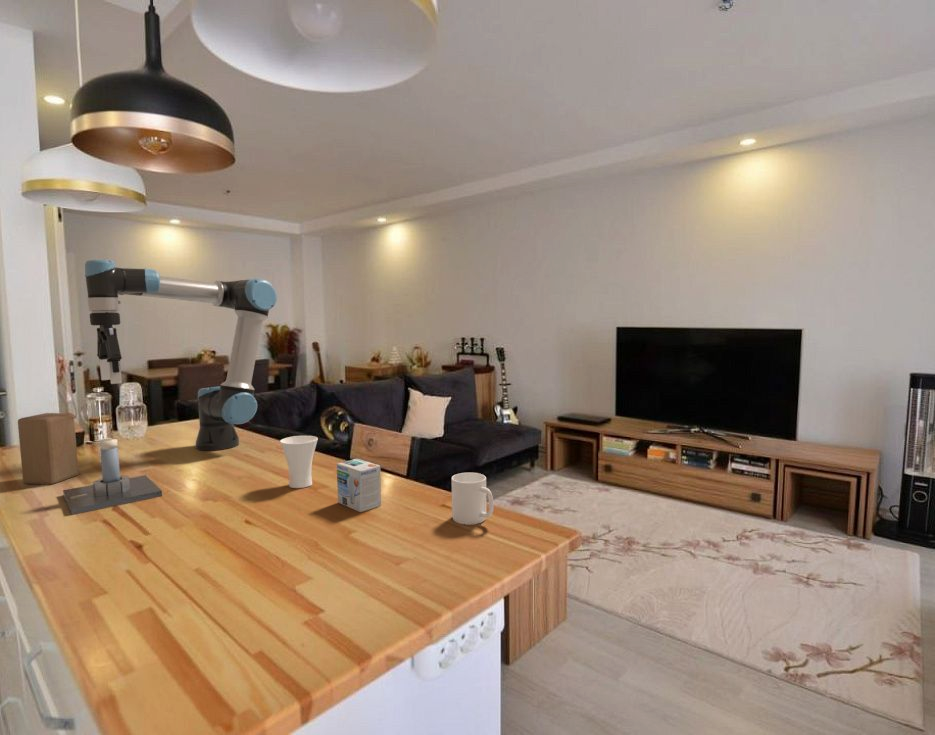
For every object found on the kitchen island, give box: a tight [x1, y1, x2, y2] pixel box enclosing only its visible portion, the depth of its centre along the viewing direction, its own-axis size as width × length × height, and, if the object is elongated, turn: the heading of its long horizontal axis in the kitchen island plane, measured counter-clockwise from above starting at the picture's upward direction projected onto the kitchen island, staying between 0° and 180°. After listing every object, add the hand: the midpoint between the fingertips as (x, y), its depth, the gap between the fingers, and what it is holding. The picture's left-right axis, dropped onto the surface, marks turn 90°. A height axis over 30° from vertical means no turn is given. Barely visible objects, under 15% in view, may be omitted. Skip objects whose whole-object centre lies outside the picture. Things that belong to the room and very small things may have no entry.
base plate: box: [62, 474, 163, 516], centre depth 145 cm, size 20×20×4 cm
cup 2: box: [451, 472, 495, 526], centre depth 124 cm, size 8×12×10 cm
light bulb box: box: [336, 458, 382, 513], centre depth 136 cm, size 11×7×11 cm, turn 47°
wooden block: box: [17, 412, 79, 485], centre depth 159 cm, size 10×10×20 cm
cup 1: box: [279, 435, 319, 489], centre depth 152 cm, size 10×10×14 cm
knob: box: [98, 437, 121, 483], centre depth 144 cm, size 4×4×15 cm
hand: (111, 381), depth 160 cm, fingers open, 13 cm apart
